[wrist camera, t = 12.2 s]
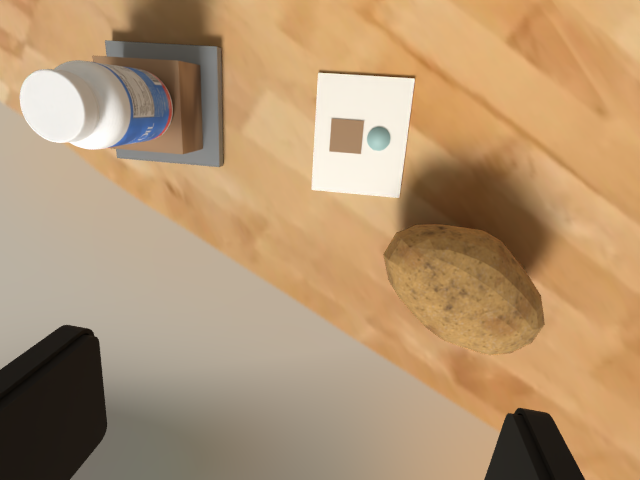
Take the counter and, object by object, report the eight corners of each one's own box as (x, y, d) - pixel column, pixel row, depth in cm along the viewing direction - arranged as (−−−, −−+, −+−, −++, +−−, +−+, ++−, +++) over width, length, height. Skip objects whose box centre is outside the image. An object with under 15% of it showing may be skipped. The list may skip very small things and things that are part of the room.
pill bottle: (127, 147, 33) (31, 165, 24) (100, 80, 32) (-12, 72, 23) (186, 130, 32) (109, 142, 23) (161, 59, 31) (68, 41, 22)
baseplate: (112, 42, 36) (105, 40, 35) (221, 48, 35) (216, 46, 34) (123, 156, 39) (117, 157, 38) (223, 165, 38) (219, 167, 37)
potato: (424, 179, 36) (436, 200, 28) (547, 269, 37) (590, 312, 29) (358, 260, 39) (353, 298, 32) (473, 341, 40) (494, 396, 33)
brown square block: (123, 60, 35) (92, 55, 31) (200, 65, 34) (178, 60, 31) (130, 142, 37) (102, 147, 34) (202, 148, 37) (182, 154, 33)
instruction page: (318, 72, 34) (317, 72, 34) (414, 78, 33) (415, 78, 33) (311, 189, 37) (311, 190, 37) (399, 197, 37) (399, 198, 36)
